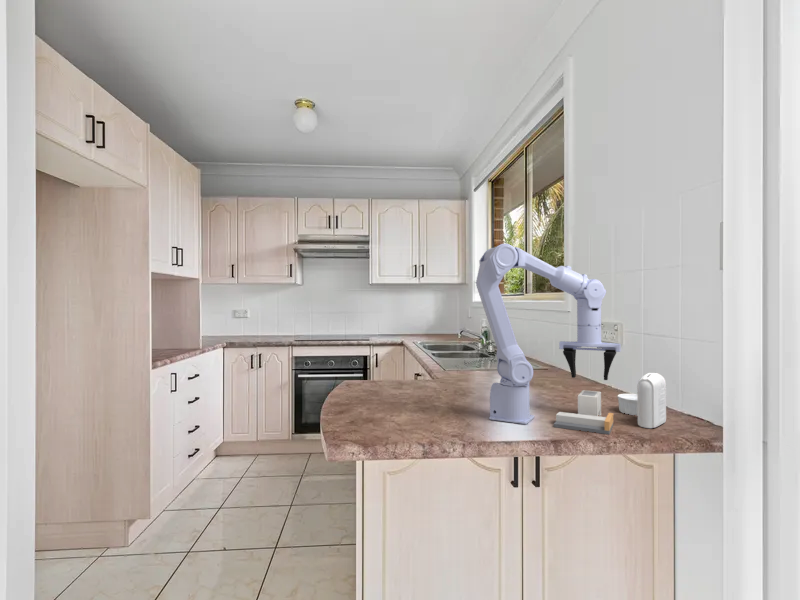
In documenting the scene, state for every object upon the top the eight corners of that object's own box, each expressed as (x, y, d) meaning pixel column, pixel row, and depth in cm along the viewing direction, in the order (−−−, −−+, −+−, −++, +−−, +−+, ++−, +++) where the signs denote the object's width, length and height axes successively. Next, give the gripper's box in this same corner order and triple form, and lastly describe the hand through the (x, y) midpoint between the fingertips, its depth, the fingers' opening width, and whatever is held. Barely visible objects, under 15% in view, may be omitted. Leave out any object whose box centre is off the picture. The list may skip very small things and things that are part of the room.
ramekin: (642, 408, 124) (642, 393, 124) (662, 416, 115) (662, 400, 115) (611, 409, 124) (611, 393, 124) (628, 417, 115) (628, 400, 115)
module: (577, 419, 113) (577, 394, 113) (582, 412, 120) (582, 389, 120) (597, 421, 110) (597, 396, 110) (601, 414, 117) (601, 391, 117)
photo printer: (649, 418, 113) (649, 369, 113) (668, 421, 110) (668, 371, 110) (634, 426, 106) (634, 374, 106) (654, 430, 103) (654, 376, 103)
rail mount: (553, 427, 105) (553, 415, 106) (561, 418, 113) (561, 407, 113) (609, 434, 99) (609, 421, 99) (613, 424, 107) (613, 413, 107)
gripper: (621, 325, 115) (622, 378, 115) (562, 324, 122) (563, 374, 122) (619, 326, 109) (619, 382, 109) (557, 325, 116) (557, 377, 116)
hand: (589, 378), depth 115 cm, fingers open, 7 cm apart
